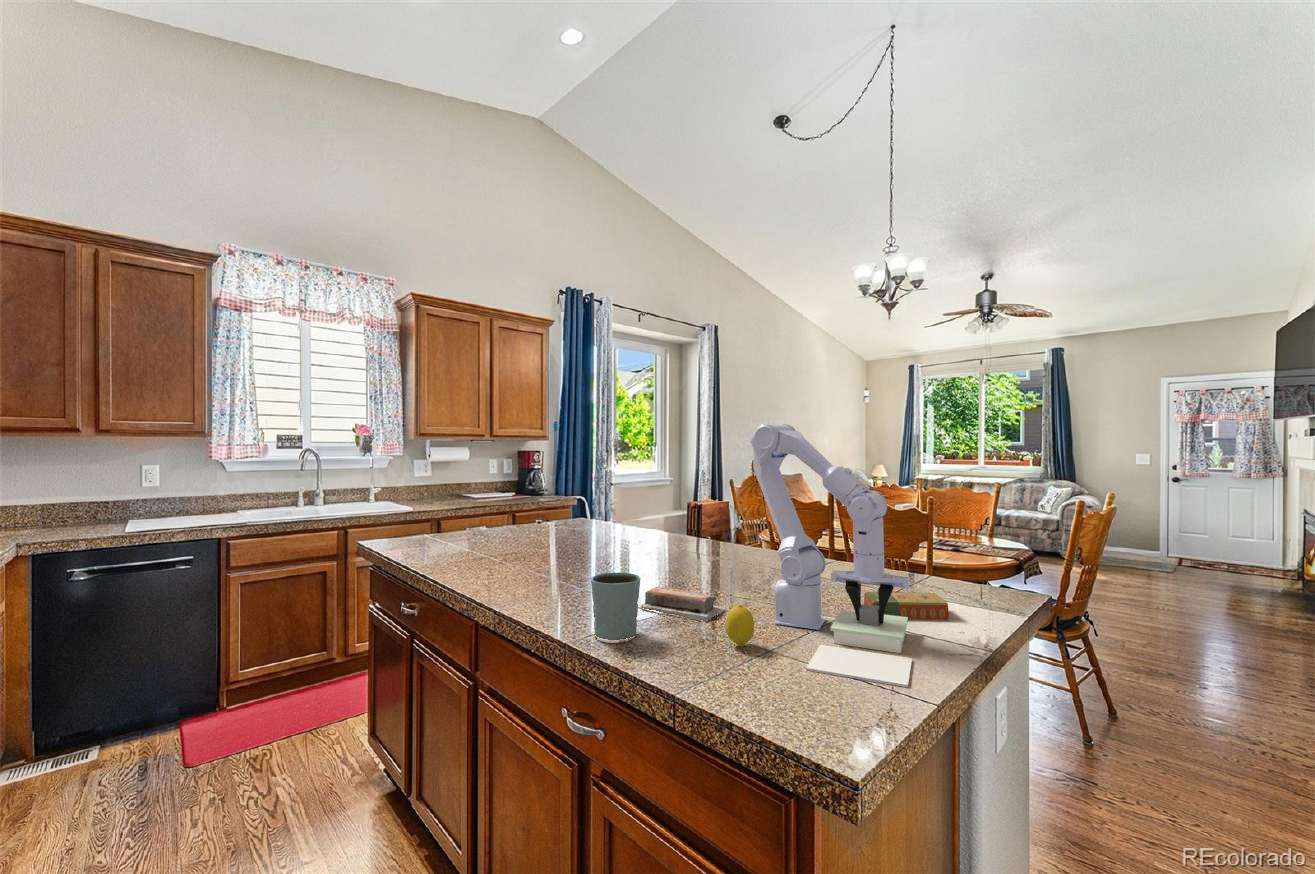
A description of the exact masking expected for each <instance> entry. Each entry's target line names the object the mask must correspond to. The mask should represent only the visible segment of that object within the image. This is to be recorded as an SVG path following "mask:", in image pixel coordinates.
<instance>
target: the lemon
mask: <svg viewBox="0 0 1315 874" xmlns="http://www.w3.org/2000/svg"><path fill="white" fill-rule="evenodd" d="M752 614H753V613H752V612H751V611H750V610H749V609H748V608H747V607H745V606H743V605H742V604H737V605H735V606H734V607H732V608H731V609H730V610H729V611H728V612H727V615H726V618H725V631H726V635H727V637H728V638H729V639H730V641H732V642H733V643H735V644H737V646H739V647H742V646H744V644H746V643H748V642H749V641H750V640H751V639H752V638H753V636H754V633H755V622H754V621H755V620H754V618H753V615H752Z"/></svg>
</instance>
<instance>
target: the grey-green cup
mask: <svg viewBox="0 0 1315 874" xmlns="http://www.w3.org/2000/svg"><path fill="white" fill-rule="evenodd" d="M590 583H591V585H590V586H591V596H592V603H593V604H592V612H593V618H594V621H593V624H594V629H593V630H594V636H595V635H596V636H597V637H599V638H603V639H608V640H620V639H626V638H630V637H633V636H635V634H636V635H637V630H638V628H637V627H638V622H637V621H638V619H637V618H638V613H639V611H638V610H639V604H638V601H639V598H640V587H641V577H640V576H639V575H637V574H635V573H629V572H606V573H599V574H596V575H592V577H591V578H590ZM635 637H636V636H635Z"/></svg>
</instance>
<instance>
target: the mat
mask: <svg viewBox="0 0 1315 874" xmlns="http://www.w3.org/2000/svg"><path fill="white" fill-rule="evenodd" d="M912 663H913V658H910V657H904V656H897V655H891V654H883V653H878V652H870V651H864V650H858V649H851V648H845V647H844V648H843V647H838V646H830V645H824V644H819V646H818V648H817V649H816V651H815V653H814V654H813V657H811V659H810V661H809V663H808V664H807V665H806V667H805V669H806V670H805V671H810V672H815V673H820V674H827V675H833V676H837V677H844V678H850V679H856V680H860V681H861V680H862V681H867V682H874V683H879V684H884V685H885V684H886V685H890V686H896V687H901V688H909V683H910V676H911V670H912Z"/></svg>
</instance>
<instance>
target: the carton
mask: <svg viewBox="0 0 1315 874" xmlns="http://www.w3.org/2000/svg"><path fill="white" fill-rule="evenodd" d="M863 604H866V605H875V606H879V596H878V591H877V592H876V591H874V592H873V591H871V592H870V591H864V597H863ZM949 614H950V613H949V604H948V602H947V601H946V600H945V599H944V598H942V597H941V596H940V595H939V594H937V593H935V592H893V591H892V593H891V595H890V598H889V600H888V602H887V605H886V608H885V613H884V615H892V616H901V617H908V620H934V621H937V620H938V621H943V620H944V621H949V618H950V615H949Z"/></svg>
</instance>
